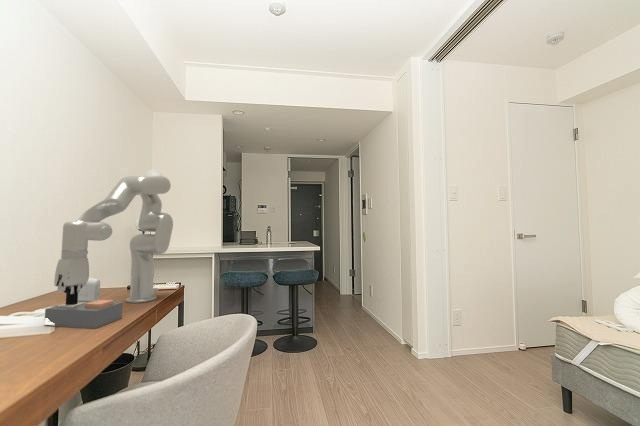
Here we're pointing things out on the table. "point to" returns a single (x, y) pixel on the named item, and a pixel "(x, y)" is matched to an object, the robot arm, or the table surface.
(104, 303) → the terracotta key
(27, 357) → the table surface
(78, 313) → the block
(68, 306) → the white key
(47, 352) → the table surface
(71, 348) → the table surface
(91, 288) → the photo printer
